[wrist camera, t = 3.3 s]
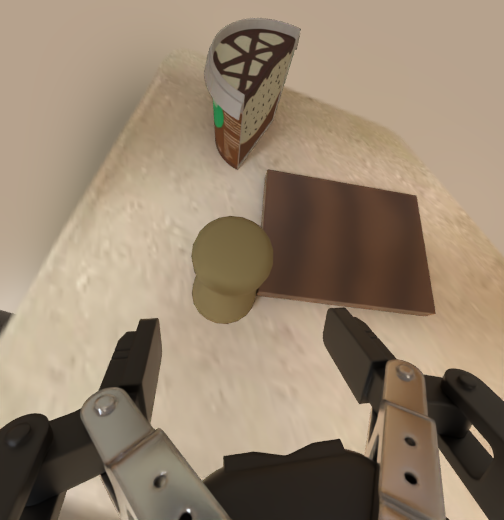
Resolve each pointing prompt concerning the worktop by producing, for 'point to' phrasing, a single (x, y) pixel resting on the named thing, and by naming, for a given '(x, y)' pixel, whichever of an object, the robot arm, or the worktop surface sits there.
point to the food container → (247, 81)
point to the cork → (229, 267)
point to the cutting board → (345, 245)
